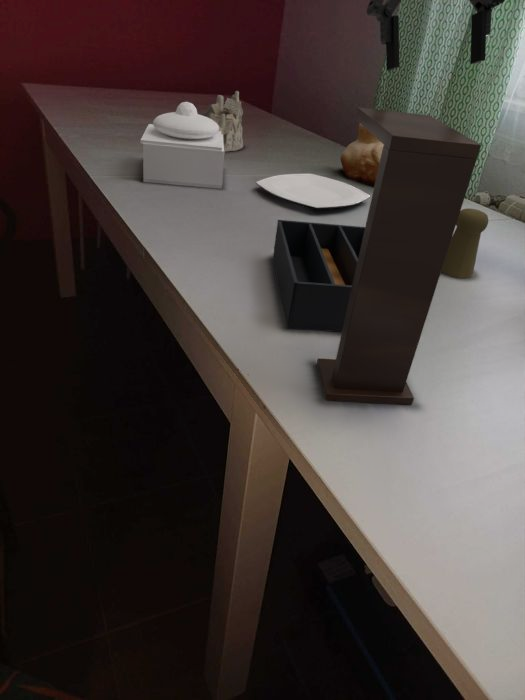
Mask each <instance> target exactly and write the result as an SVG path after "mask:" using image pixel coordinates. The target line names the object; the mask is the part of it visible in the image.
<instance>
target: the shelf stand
mask: <svg viewBox="0 0 525 700" xmlns="http://www.w3.org/2000/svg"><path fill="white" fill-rule="evenodd" d="M355 121H357V122H358V123H359V124H361V125H363V126H364V127H365V128H366V129H367V130H368V131H369V132H370V133H371V134H373V135H374V136H375V137H376V138H377V139H378V140H379V141H380V142H381V143H382V144H384V146H383V150H382V154H381V159H380V163H379V168H378V172H377V177H376V181H375V186H373V191H372V194H371V200H370V205H369V208H368V213H367V218H366V221H365V226H364V227H365V231H364V235H363V240H362V244H361V249H360V253H359V258H358V262H357V267H356V271H355V276H354V280H353V285H352V289H351V293H350V298H349V302H348V307H347V311H346V316H345V320H344V325H343V329H342V332H341V335H340V339H339V344H338V347H337V353H336V357H335V358H317V361H316V368H317V372H318V376H319V379H320V383H321V388H322V392H323V395H324V399H325V401H327V402H345V403H346V402H350V403H371V404H388V405H390V404H391V405H413V402H414V401H415V400H414V399H415V396H414V395H413V392H412V391H411V389H410V387H409V384H408V383H407V381H408V377H409V374H410V371H411V368H412V365H413V361H414V359H415V355H416V352H417V349H418V346H419V342H420V339H421V337H422V334H423V330H424V327H425V323H426V321H427V318H428V314H429V312H430V308H431V306H432V305H431V304H432V301H433V298H434V295H435V292H436V289H437V286H438V283H439V280H440V276H441V273H442V272H441V270H442V267H443V264H444V261H445V258H446V255H447V251H448V248H449V245H450V242H451V239H452V236H453V234H454V232H455V230H456V227H457V226H456V223H457V220H458V217H459V214H460V211H461V210H462V207H463V204H464V200H465V197H466V195H467V191H468V188H469V185H470V181H471V178H472V175H473V173H474V170H475V166H476V162H477V160H478V157H479V153H480V151H481V148H482V144H481V143H479V142H477V141H476V140H473V139H472V138H470V137H469V136H467V135H465V134H463V133H462V132H460V131H458V130H456V129H455V128H453V127H451V126H449V125H447V124H445V123H443V122H442V121H440V120H439V119H436V118H435V117H433V116H431V115H430V114H421V113H414V112H413V113H412V112H404V111H395V110H393V111H392V110H386V109H377V108H368V107H360V106H357V109H356V113H355Z"/></svg>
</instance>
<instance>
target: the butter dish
mask: <svg viewBox="0 0 525 700" xmlns="http://www.w3.org/2000/svg"><path fill="white" fill-rule="evenodd" d="M140 145H142V156H143V157H142V158H143V159H142V162H143V163H142V164H143V165H142V168H143V169H142V172H143V173H142V174H143V175H142V177H143V181H142V183H151V184H161V185H163V184H164V185H173V186H174V185H175V186H186V187H198V188H207V189H218V190H219V189H220V190H223V181H224V167H225V153H226V151H224V142H223V134H221V131H219V126H218V124H217V123H216V122H214V121H213V120H212V119H210V118H208V117H205V116H203V114H199V113H198V110H197V108H196V106H195V105H194V103H192V102H189V101H183V102H181V103H179V104H178V106H177V107H176V109H175V111H172V112H166V113H162V114H160V115H157V116H156V117H155V118H154V119H153V121H152V123H148V125H147V126H146V128H145V130H144V132H143V134H142V136H141V138H140Z"/></svg>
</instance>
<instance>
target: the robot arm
mask: <svg viewBox="0 0 525 700" xmlns="http://www.w3.org/2000/svg"><path fill="white" fill-rule="evenodd" d="M384 1H385V0H369V2H368V4H367V8H366V14H367V16H369V17H371V16H373V17H375V18H376V21H378V22H379V32H380V33H379V34H380V35H379V36H380V37H379V38H380V39H379V41H380V43H381V45H382V46H383V45H385V52H386V53H385V56H386V57H385V58H386V71H393V70H396V69H398V68H400V19H399V18H400V15H399V14H398V15H397V14H396V15H393V13H394V12H395V11H396V8H397V7H399V4H400V3H401V2H402V0H386V1H385V2H384ZM468 1H469V3H470V4H471V5H472V7H473V9H474V10H475V11H476V12H475V13H474V14H471V26H470V28H471V29H470V65H475V64H478V63H481V62H484V61H486V51H487V50H486V49H487V37H488V36H490V34H491V32H492V11H493V10H494V8H496V7H498V6H499V5H502V4H503V3H504V2H505V1H506V0H468ZM383 3H384V4H383Z"/></svg>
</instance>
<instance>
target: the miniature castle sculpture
mask: <svg viewBox="0 0 525 700" xmlns="http://www.w3.org/2000/svg"><path fill="white" fill-rule="evenodd" d="M243 115H244V110H243V107H242V101H240V92H239V90H236V91H234V94H232V96H231V98H228V97H226V100H225V99H224V96H223V95H221V94H217V96H216V103H213V104H210V105H209V106H208V108H207V109H206V111H205V112H204V113H203V114H202V116H205V117H208V118H210V119H212V120H213V121H214V122H216V123H217V124H218V126H219V131H221V134H223V142H224V151H225V153H226V152H236V151H238V150H241V149H243V148H244V141H243V126H242V122H243V121H242V119H243Z"/></svg>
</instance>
